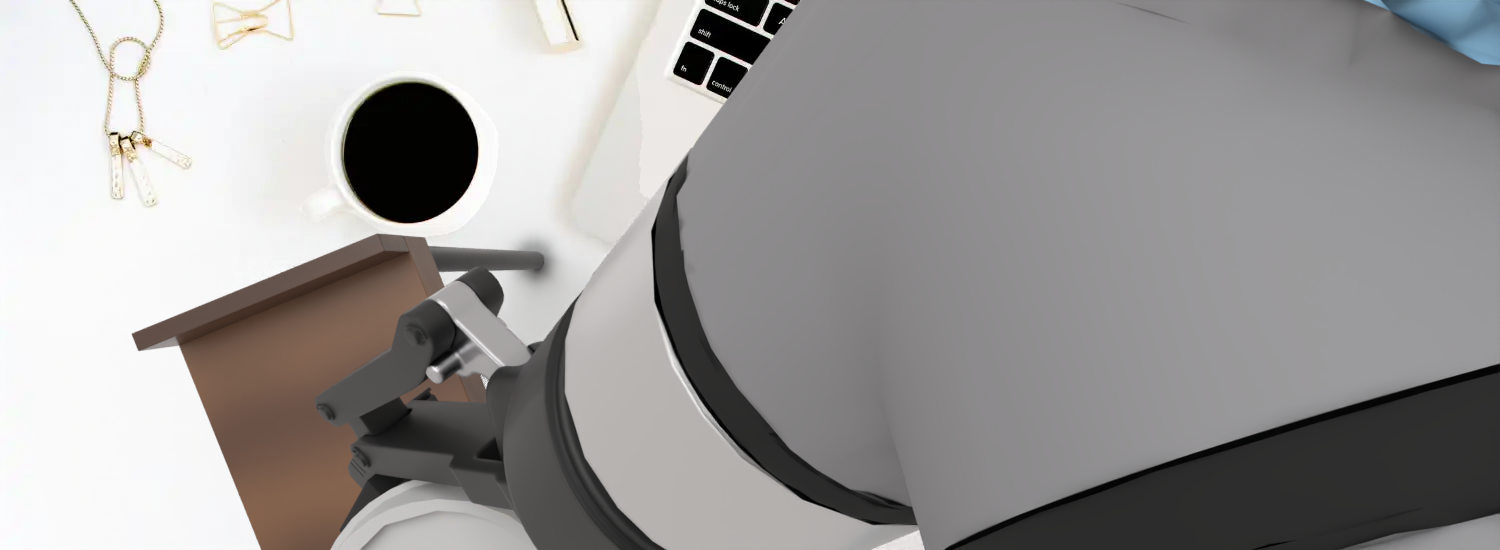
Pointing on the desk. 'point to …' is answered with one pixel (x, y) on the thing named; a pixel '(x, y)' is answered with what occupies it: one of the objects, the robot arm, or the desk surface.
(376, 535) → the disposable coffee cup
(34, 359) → the desk surface
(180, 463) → the desk surface
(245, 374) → the desk shelf
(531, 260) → the shelf legs
